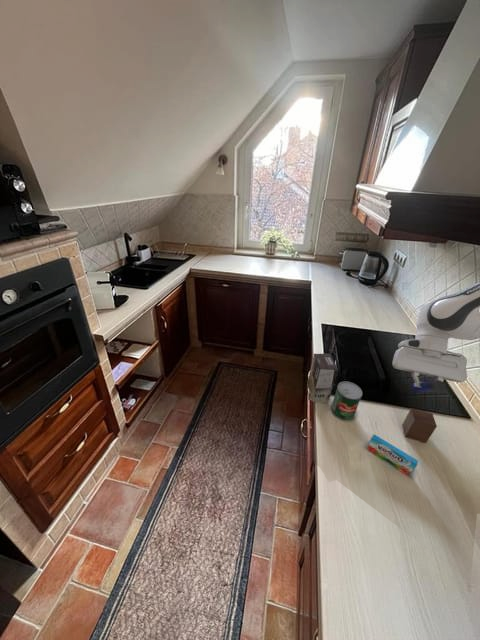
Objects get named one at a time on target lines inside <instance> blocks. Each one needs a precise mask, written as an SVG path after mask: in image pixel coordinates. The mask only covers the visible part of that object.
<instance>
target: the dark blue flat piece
mask: <svg viewBox="0 0 480 640" xmlns="http://www.w3.org/2000/svg"><path fill="white" fill-rule="evenodd" d="M421 382H422V387H421V388H419V387H415V386H414V385H415V382H413V383H412V390H413V391H415V392H417V393H434V392H435V393H436V392H437V393H439V392H441V393H442V392H444V391H445V390H446V388H447V387H446V384H445V383H444V381H443V382H442V381H440V380H436V381H435V380H427V381H426V380H425V381H421Z"/></svg>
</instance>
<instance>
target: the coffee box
mask: <svg viewBox="0 0 480 640" xmlns="http://www.w3.org/2000/svg"><path fill="white" fill-rule="evenodd" d="M338 371H339V367H338V366H337V364H336V362H335V360H334V358H333V356H332V354H331V353H313V356H312V360H311V365H310V370H309V375H308V379H307V385H306V386H307V389H308V392H309V395H310V399H311V402H312V403H326V404H327V403H329V402H330V398H331V395H332V392H333V388H334V384H335V381H336V378H337V376H338V375H337V374H338Z"/></svg>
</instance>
